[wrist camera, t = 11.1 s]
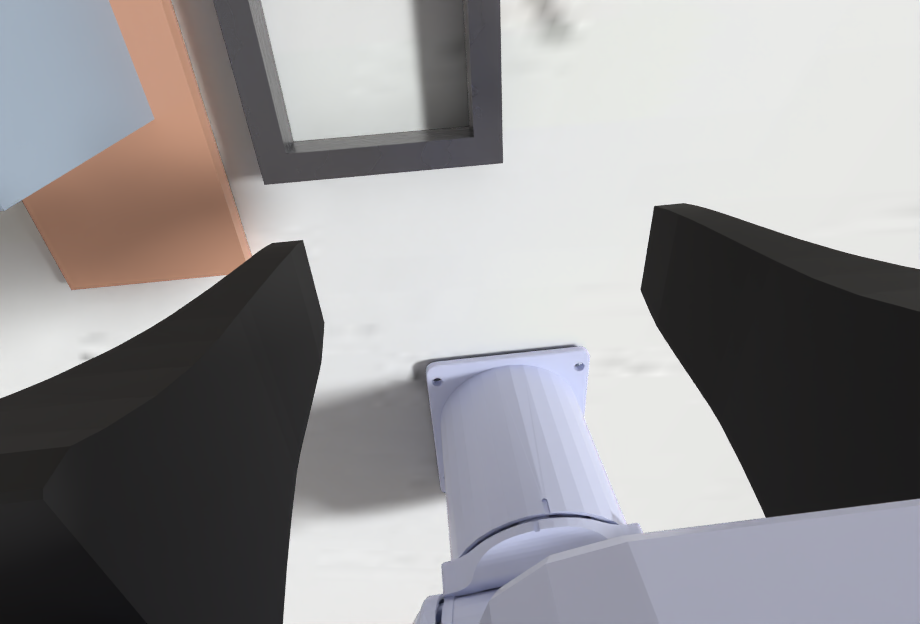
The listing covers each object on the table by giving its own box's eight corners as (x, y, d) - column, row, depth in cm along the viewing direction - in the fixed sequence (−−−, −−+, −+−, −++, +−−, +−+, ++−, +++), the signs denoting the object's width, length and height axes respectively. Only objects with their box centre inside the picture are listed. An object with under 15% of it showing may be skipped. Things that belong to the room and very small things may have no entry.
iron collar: (496, 150, 20) (502, 163, 19) (273, 170, 20) (264, 184, 19) (489, -139, 15) (497, -148, 14) (196, -119, 15) (177, -127, 14)
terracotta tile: (254, 263, 22) (249, 272, 21) (81, 279, 21) (71, 289, 21) (72, -310, 13) (55, -325, 12) (-225, -295, 13) (-260, -309, 12)
